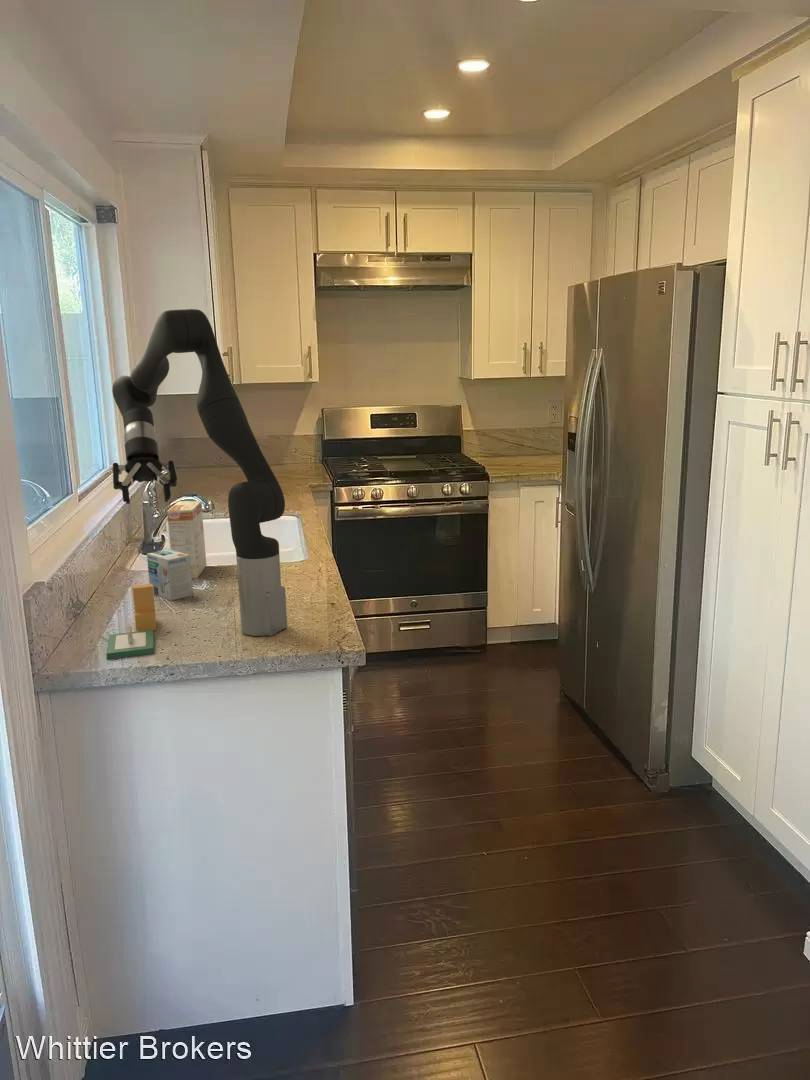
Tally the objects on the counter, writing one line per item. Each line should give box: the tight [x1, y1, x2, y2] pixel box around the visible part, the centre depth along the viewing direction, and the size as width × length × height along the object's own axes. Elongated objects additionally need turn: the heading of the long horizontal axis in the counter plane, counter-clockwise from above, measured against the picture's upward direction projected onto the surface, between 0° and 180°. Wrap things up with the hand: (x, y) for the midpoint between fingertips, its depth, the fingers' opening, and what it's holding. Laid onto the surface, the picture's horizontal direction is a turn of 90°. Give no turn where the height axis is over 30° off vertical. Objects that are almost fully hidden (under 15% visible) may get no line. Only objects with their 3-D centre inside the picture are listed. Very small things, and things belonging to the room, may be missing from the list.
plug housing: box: [132, 583, 157, 632], centre depth 175 cm, size 10×4×10 cm, turn 18°
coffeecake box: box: [166, 500, 208, 580], centre depth 219 cm, size 15×7×20 cm, turn 4°
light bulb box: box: [146, 548, 194, 601], centre depth 199 cm, size 11×7×11 cm, turn 47°
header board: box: [106, 626, 155, 660], centre depth 162 cm, size 12×9×4 cm
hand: (147, 501), depth 180 cm, fingers open, 8 cm apart
